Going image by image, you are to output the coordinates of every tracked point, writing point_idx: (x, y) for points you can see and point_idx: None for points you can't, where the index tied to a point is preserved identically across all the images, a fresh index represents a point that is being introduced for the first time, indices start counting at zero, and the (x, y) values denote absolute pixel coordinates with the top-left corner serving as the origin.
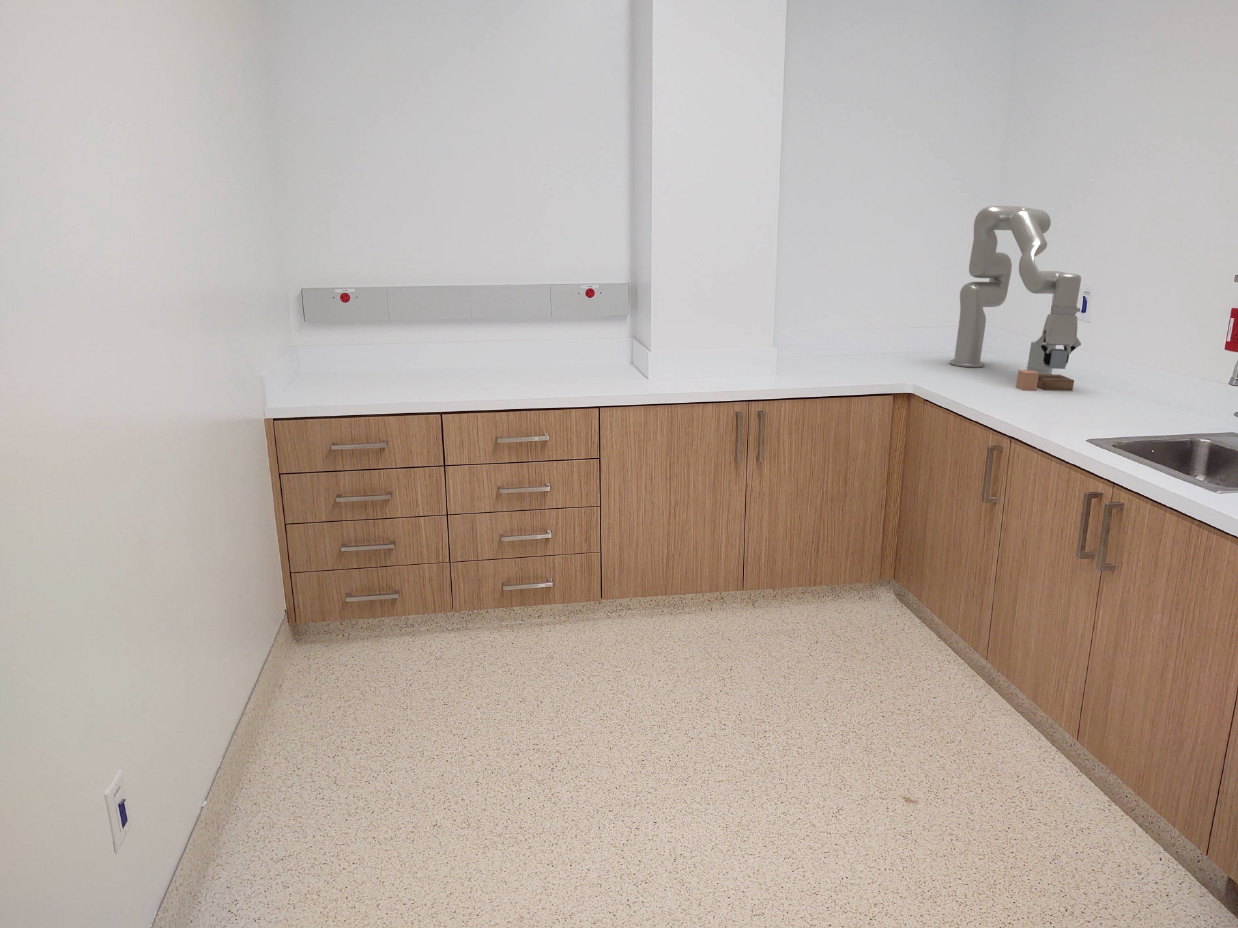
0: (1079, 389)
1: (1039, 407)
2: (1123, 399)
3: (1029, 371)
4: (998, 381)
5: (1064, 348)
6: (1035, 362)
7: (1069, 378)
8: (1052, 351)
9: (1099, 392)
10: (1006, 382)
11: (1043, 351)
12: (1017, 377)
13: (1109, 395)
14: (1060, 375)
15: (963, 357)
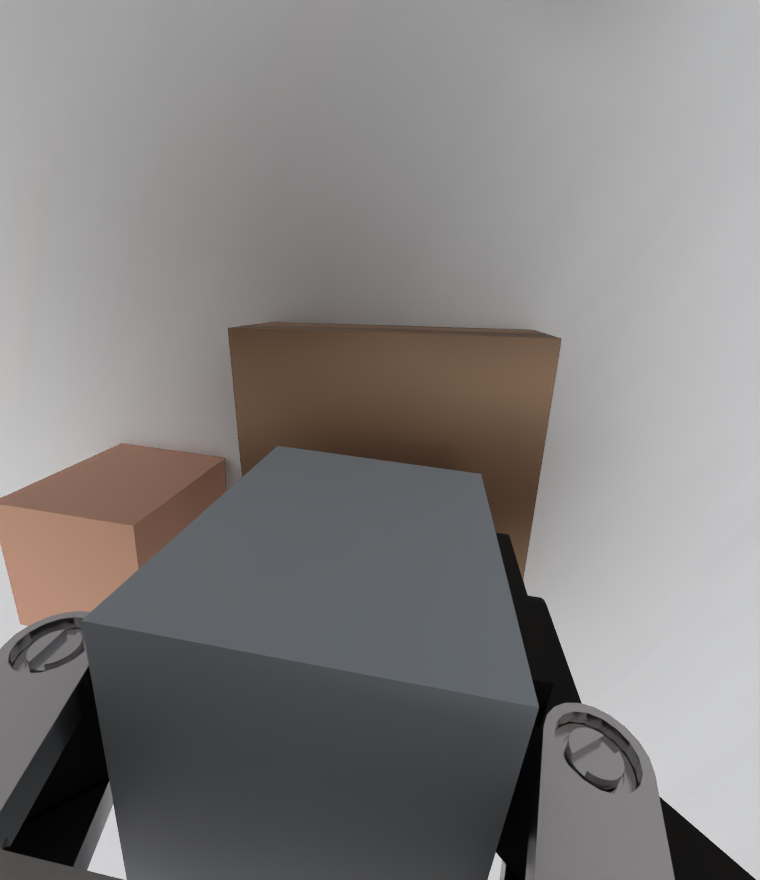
0: (603, 516)
1: (113, 848)
2: (684, 788)
3: (81, 577)
4: (33, 212)
5: (531, 864)
6: None
7: (523, 550)
8: (137, 850)
9: (693, 615)
10: (92, 255)
11: (45, 623)
12: (59, 477)
13: (686, 698)
14: (529, 399)
15: None
